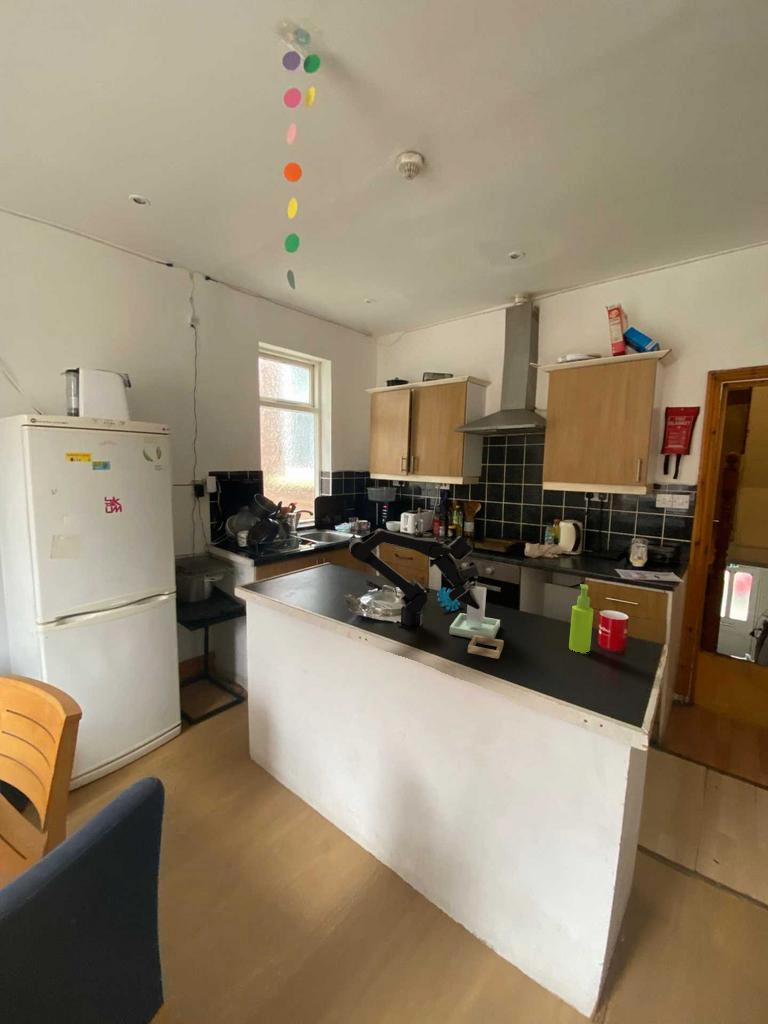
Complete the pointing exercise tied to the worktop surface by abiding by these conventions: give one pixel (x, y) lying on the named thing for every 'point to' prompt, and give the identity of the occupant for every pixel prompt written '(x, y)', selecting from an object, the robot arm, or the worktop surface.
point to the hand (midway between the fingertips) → (480, 606)
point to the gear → (447, 599)
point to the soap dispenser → (581, 623)
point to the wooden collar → (485, 651)
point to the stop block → (473, 615)
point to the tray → (462, 630)
